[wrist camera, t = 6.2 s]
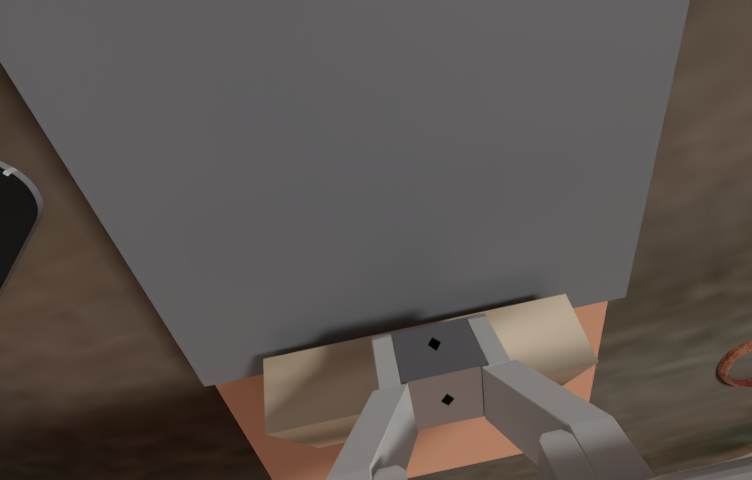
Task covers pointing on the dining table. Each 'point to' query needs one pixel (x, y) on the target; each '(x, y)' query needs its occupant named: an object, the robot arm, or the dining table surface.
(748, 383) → the key
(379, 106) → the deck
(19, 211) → the smartphone
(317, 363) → the tile
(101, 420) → the dining table surface
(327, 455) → the mat
